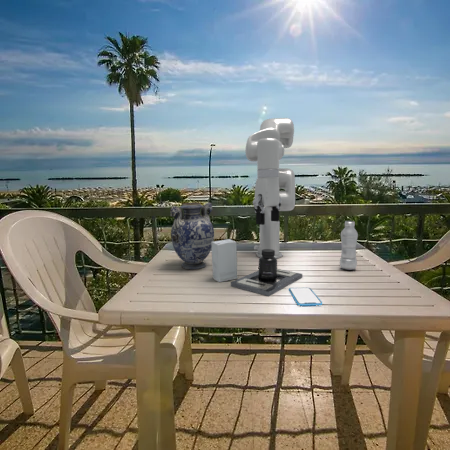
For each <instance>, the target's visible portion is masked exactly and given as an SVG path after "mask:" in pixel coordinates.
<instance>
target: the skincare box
mask: <svg viewBox="0 0 450 450" xmlns="http://www.w3.org/2000/svg"><path fill="white" fill-rule="evenodd" d="M237 243H238V242H237V241H235V240H233V239H230V238H228V239H223V240H216V241H215V240H214V241H213V242H211V246H212V248H211V265H212V278H213V279H214V280H215V281H216V282H218V283H222V282H226V281H231V280H237V279H238V257H237V255H238V254H237V252H238V251H237V247H238V246H237Z"/></svg>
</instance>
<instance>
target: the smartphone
mask: <svg viewBox="0 0 450 450" xmlns="http://www.w3.org/2000/svg"><path fill="white" fill-rule="evenodd" d="M288 291H289V293H290V295H291V297H292V296H293V297H292V298H293V300H294V301H296V302H295V303H297V304H296V305H297V306H298V305H300V306H299V307H301V306H302V307H317V306H316V305H322V306H323V301H322V300H321V299H320V298H319V296H317V294H316V293H315V292H314V291H313V289H312V288H311V287H289V288H288Z"/></svg>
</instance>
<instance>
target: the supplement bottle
mask: <svg viewBox="0 0 450 450" xmlns="http://www.w3.org/2000/svg"><path fill="white" fill-rule="evenodd" d="M261 255H262V257H258V270H259V274H258V279H257V281H261V282H265V283H269V284H274V283H276V282H278V279H277V269H278V258H275V257H274V256H275V251H274V250H272V249H263V250H262V254H261Z"/></svg>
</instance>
